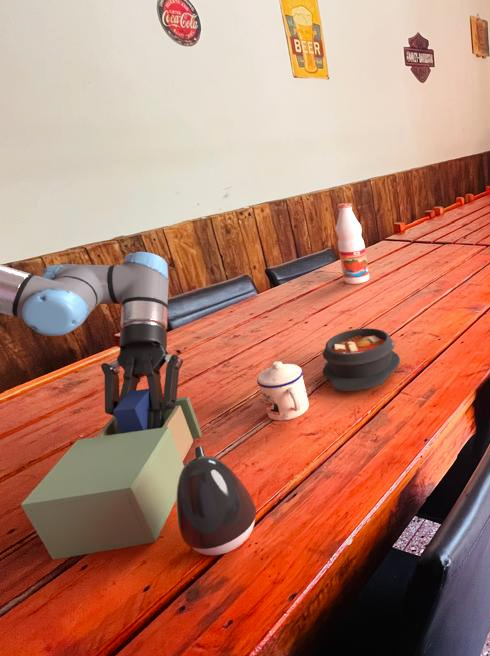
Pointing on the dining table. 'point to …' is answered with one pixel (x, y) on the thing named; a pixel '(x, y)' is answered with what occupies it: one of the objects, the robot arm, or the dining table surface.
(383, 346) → the casserole
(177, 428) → the drawer
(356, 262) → the fruit juice
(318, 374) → the dining table surface
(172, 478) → the cabinet
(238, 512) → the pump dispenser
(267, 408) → the teacup with lid
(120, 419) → the rectangular block
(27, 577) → the dining table surface
